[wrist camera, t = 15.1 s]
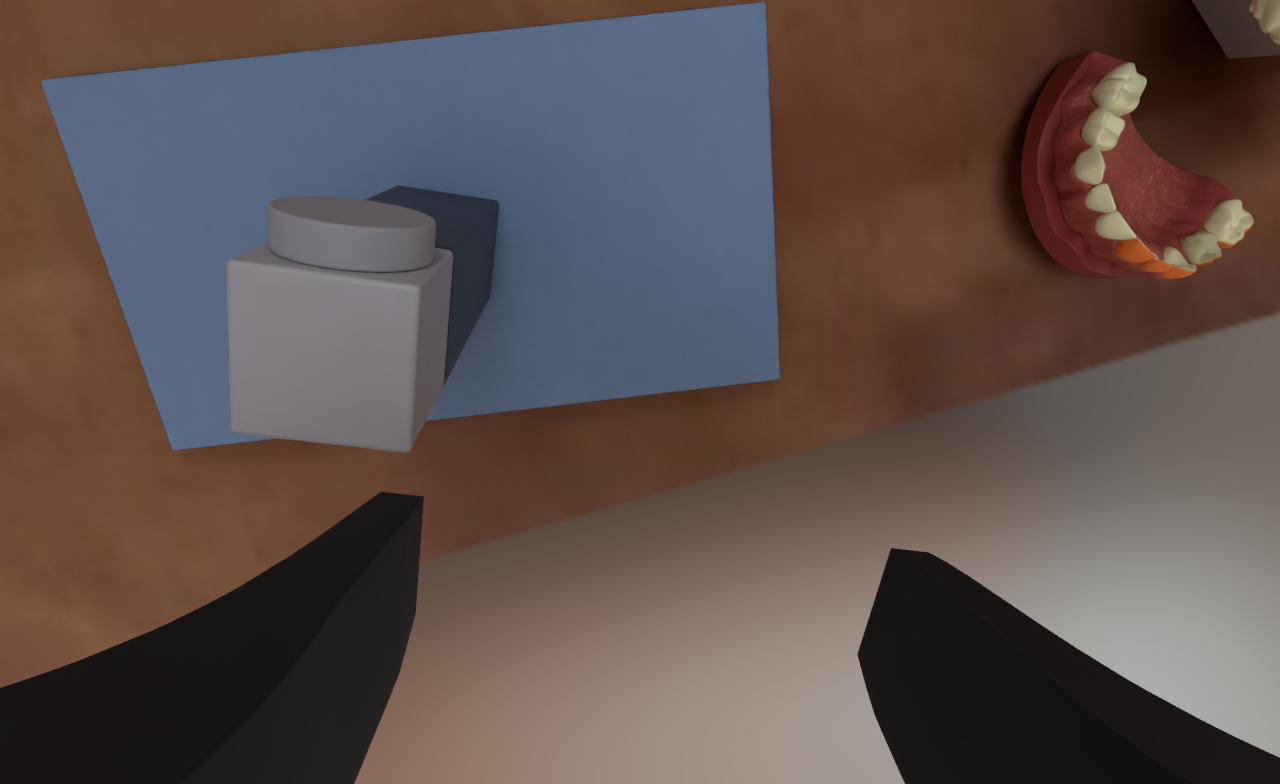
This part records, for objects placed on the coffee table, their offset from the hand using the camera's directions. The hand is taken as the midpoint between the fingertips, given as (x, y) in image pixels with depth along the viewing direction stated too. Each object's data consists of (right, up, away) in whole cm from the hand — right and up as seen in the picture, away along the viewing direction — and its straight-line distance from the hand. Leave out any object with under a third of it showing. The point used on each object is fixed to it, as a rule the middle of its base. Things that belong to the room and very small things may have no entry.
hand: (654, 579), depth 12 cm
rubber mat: (-5, +7, +7) cm, 11 cm away
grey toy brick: (-5, +6, +7) cm, 11 cm away
